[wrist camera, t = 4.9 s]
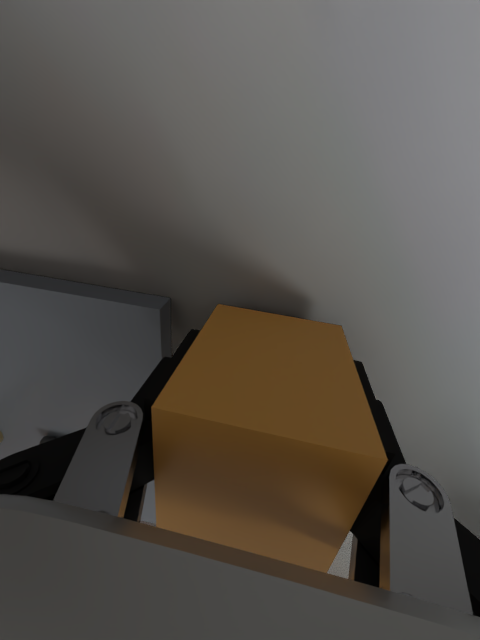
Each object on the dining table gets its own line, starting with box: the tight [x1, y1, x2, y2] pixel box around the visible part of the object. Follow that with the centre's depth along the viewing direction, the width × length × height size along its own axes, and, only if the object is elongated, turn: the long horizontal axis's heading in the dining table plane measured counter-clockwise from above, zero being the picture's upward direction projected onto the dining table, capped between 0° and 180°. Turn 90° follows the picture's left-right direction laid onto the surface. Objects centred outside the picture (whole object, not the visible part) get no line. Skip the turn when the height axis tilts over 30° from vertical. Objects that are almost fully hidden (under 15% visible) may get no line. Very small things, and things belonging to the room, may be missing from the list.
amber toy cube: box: [151, 304, 388, 573], centre depth 10 cm, size 5×5×6 cm
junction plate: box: [0, 269, 171, 524], centre depth 15 cm, size 16×18×6 cm
